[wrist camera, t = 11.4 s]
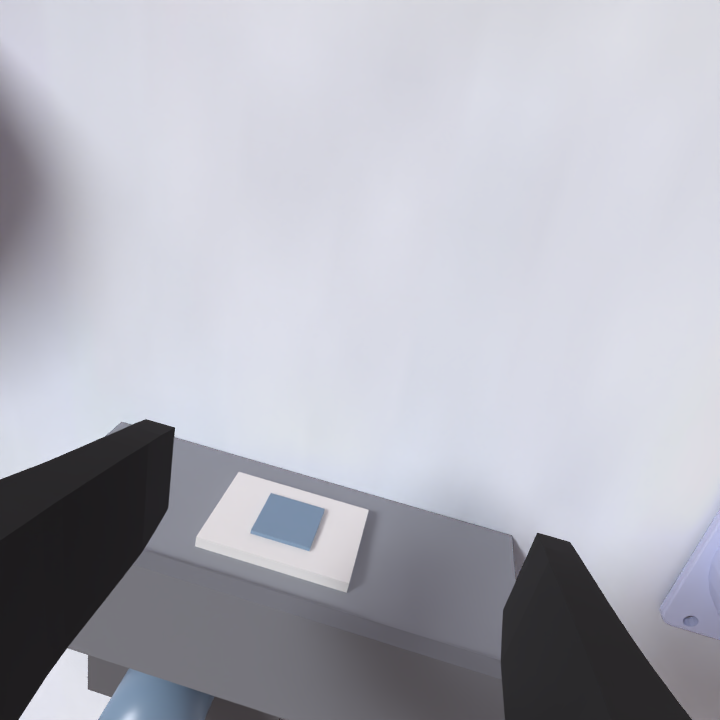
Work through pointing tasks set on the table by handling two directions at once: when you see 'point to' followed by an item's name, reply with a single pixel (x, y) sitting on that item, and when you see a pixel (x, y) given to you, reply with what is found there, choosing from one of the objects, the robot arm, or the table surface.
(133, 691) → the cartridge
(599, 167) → the table surface
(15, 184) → the table surface
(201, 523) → the block
